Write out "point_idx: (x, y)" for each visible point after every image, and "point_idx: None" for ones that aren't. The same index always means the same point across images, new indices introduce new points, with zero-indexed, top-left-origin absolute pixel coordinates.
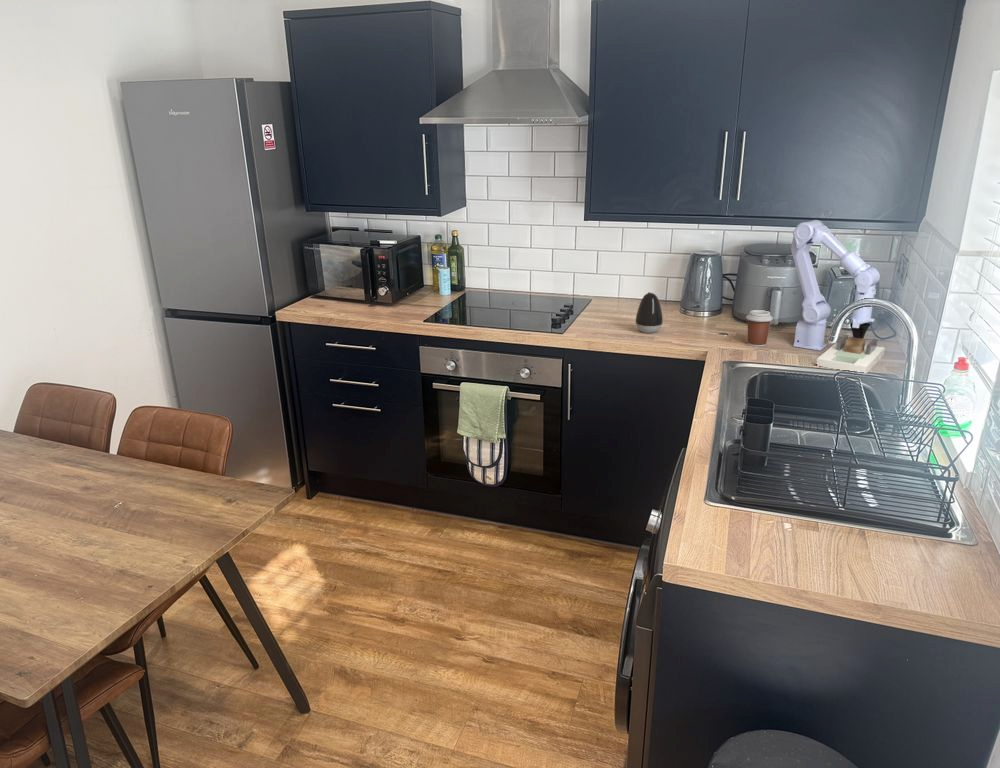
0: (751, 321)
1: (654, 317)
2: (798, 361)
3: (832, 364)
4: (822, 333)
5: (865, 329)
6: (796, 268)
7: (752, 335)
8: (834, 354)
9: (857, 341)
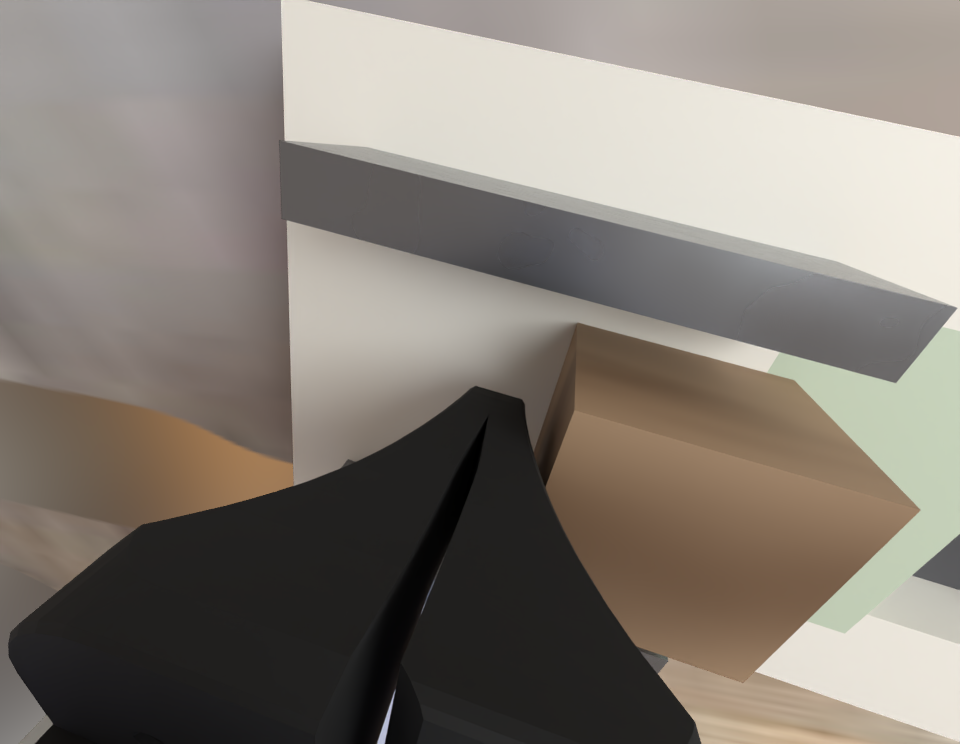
0: None
1: None
2: (823, 735)
3: None
4: (385, 718)
5: (667, 702)
6: None
7: None
8: (846, 626)
9: (818, 567)
